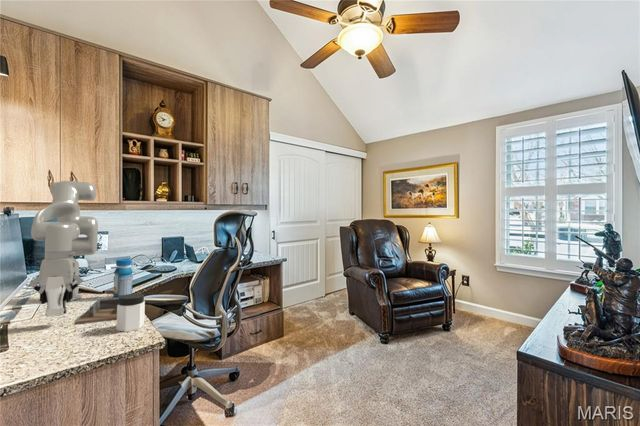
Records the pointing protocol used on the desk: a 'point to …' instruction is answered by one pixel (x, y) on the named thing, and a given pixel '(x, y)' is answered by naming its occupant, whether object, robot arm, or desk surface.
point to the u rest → (100, 312)
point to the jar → (130, 312)
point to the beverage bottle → (123, 278)
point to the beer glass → (55, 296)
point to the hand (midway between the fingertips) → (56, 301)
